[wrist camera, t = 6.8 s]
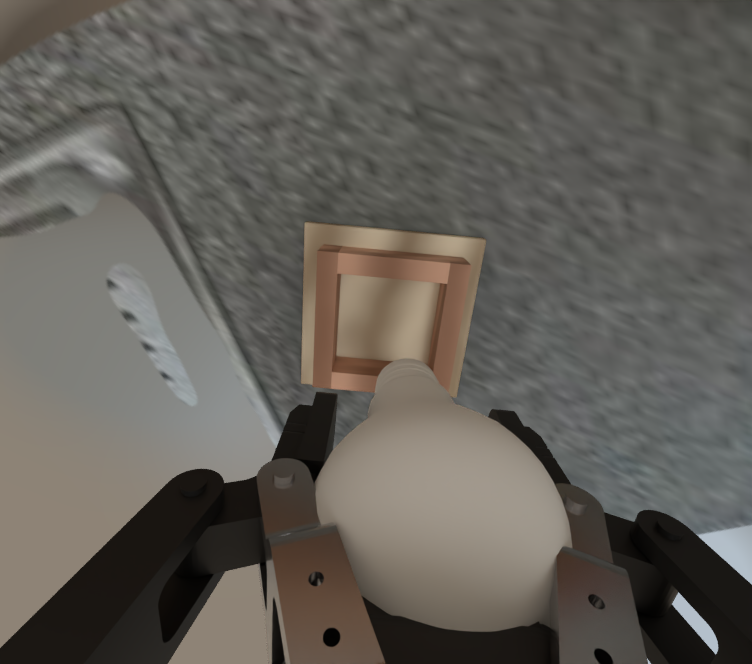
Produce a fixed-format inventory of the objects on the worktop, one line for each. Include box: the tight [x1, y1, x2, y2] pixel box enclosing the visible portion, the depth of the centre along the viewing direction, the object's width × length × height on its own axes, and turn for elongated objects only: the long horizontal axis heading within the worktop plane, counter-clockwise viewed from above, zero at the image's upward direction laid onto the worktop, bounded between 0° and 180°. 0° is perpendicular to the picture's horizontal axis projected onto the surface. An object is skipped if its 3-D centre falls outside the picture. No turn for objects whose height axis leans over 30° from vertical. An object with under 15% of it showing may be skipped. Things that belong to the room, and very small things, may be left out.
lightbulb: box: [314, 358, 572, 632], centre depth 12 cm, size 6×6×11 cm
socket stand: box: [301, 221, 486, 397], centre depth 31 cm, size 14×14×4 cm
